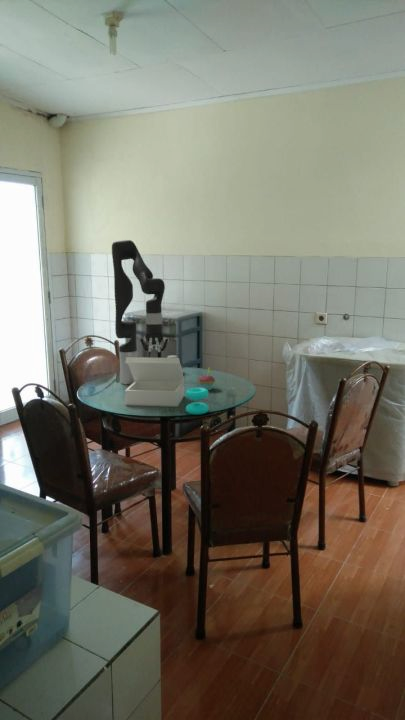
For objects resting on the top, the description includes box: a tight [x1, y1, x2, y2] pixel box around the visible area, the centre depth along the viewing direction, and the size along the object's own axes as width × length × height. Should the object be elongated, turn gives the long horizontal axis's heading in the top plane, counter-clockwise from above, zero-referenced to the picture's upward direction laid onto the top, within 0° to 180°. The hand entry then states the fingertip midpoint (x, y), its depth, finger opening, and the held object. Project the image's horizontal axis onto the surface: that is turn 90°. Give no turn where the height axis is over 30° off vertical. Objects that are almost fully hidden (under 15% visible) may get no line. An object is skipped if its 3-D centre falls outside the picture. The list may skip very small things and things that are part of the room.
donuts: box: [184, 387, 210, 416], centre depth 221 cm, size 10×10×10 cm
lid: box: [125, 349, 185, 383], centre depth 240 cm, size 18×24×8 cm
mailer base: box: [124, 381, 185, 408], centre depth 239 cm, size 17×24×7 cm
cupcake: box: [197, 367, 216, 391], centre depth 258 cm, size 9×8×12 cm
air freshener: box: [166, 354, 183, 370], centre depth 293 cm, size 11×8×10 cm
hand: (155, 359), depth 238 cm, fingers closed on lid, 3 cm apart
